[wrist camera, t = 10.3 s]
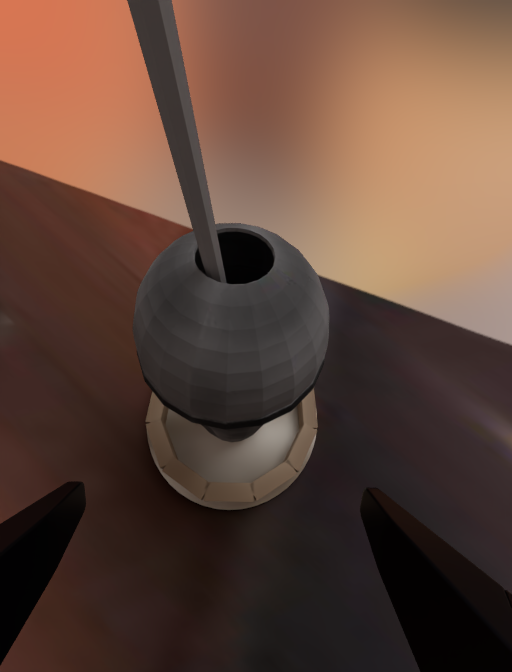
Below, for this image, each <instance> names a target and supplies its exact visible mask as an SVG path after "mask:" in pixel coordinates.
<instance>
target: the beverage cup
mask: <svg viewBox="0 0 512 672" xmlns="http://www.w3.org/2000/svg"><path fill="white" fill-rule="evenodd" d="M127 1H128V4H129V8H130V11H131V15H132V18H133V22H134V25H135V29H136V32H137V36H138V39H139V42H140V46H141V50H142V53H143V57H144V60H145V64H146V67H147V71H148V74H149V77H150V81H151V84H152V88H153V91H154V95H155V98H156V102H157V105H158V109H159V112H160V116H161V119H162V122H163V126H164V130H165V133H166V136H167V140H168V144H169V147H170V151H171V154H172V157H173V161H174V165H175V168H176V172H177V175H178V178H179V182H180V186H181V189H182V192H183V196H184V199H185V203H186V206H187V210H188V213H189V217H190V220H191V224H192V227H193V231H192V232H190V233H188V234H186V235H184V236H182V237H180V238H179V239H177V240H175V241H174V242H173V243H172V244H171V245H170V246H169V247H167V248H166V249H165V250H164V251H163V252H162V253H161V254H159V256H158V257H157V258H156V259H155V260H154V262H153V263H152V265H151V267H150V268H149V270H148V272H147V274H146V275H145V277H144V279H143V281H142V282H141V285H140V287H139V290H138V292H137V298H136V306H135V313H134V321H133V334H134V340H135V343H136V347H137V355H138V358H139V362H140V366H141V369H142V373H143V377H144V380H145V382H146V383H147V385H148V386H149V387H150V388H151V390H152V391H153V392H154V394H155V395H156V396H157V398H158V399H159V400H160V401H161V403H162V404H163V405H164V406H166V407H167V408H169V409H170V410H172V411H174V412H175V413H177V414H179V415H180V416H182V417H184V418H185V419H187V420H188V421H190V422H192V423H196V424H201V425H202V426H203V427H204V428H205V429H206V430H207V431H208V432H209V433H210V434H212V435H214V436H215V437H217V438H219V439H221V440H223V441H227V442H238V441H243V440H245V439H247V438H249V437H250V436H252V435H254V434H255V433H256V432H257V431H258V430H259V429H260V428H261V427H262V426H263V425H264V424H266V423H268V422H270V421H272V420H274V419H276V418H278V417H280V416H283V415H285V414H287V413H289V412H291V411H292V410H293V409H294V408H295V407H296V406H297V405H298V404H299V403H300V402H301V401H302V400H303V399H304V398H305V397H306V396H307V395H308V394H309V393H310V392H311V391H312V390H313V388H314V386H315V383H316V381H317V379H318V377H319V374H320V372H321V370H322V367H323V365H324V358H325V353H326V351H327V345H328V335H329V307H328V303H327V300H326V298H325V295H324V292H323V289H322V286H321V283H320V280H319V278H318V275H317V273H316V272H315V271H314V269H313V268H312V267H311V265H310V264H309V263H308V261H307V260H306V259H305V258H304V257H303V255H302V254H301V253H300V251H299V250H298V249H296V248H295V247H294V246H292V245H291V244H289V243H288V242H287V241H285V240H284V239H282V238H281V237H280V236H278V235H277V234H275V233H272V232H270V231H268V230H265V229H263V228H260V227H257V226H251V225H246V224H241V223H224V224H223V223H222V224H220V223H219V224H215V221H214V216H213V211H212V205H211V200H210V196H209V191H208V185H207V180H206V175H205V170H204V164H203V159H202V155H201V149H200V144H199V139H198V134H197V129H196V124H195V119H194V114H193V108H192V103H191V98H190V93H189V88H188V82H187V77H186V73H185V67H184V62H183V57H182V52H181V47H180V41H179V37H178V31H177V26H176V21H175V16H174V11H173V5H172V0H127Z"/></svg>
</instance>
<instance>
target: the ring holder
mask: <svg viewBox="0 0 512 672" xmlns="http://www.w3.org/2000/svg"><path fill="white" fill-rule="evenodd" d="M145 422H146V423H147V424H146V428H147V436H148V443H149V447H150V451H151V454H152V457H153V459H154V461H155V464H156V466H157V467H158V469H159V471H160V472H161V474H162V476H163V477H164V478H165V479H166V480H167V482H168V483H169V484H170V485H171V486H172V487H173V488H174V489H175V490H177V491H178V492H179V493H180V494H182V495H183V496H185V497H186V498H188V499H189V500H191V501H193V502H196V503H198V504H200V505H203V506H206V507H210V508H214V509H223V510H237V509H245V508H249V507H254V506H257V505H259V504H262V503H264V502H267V501H269V500H270V499H272V498H274V497H276V496H277V495H279V494H280V493H281V492H283V491H284V490H285V489H286V488H288V487H289V486H290V485H291V484H292V482H293V481H294V480H295V479H296V478H297V477H298V476H299V474H300V473H301V471H302V470H303V469H304V467H305V465H306V463H307V461H308V459H309V457H310V455H311V452H312V449H313V446H314V442H315V437H316V433H317V428H318V424H317V412H316V405H315V396H314V388H313V390H312V391H311V392H310V393H309V394H308V395H307V396H306V397H305V398H304V399H303V400H302V401H301V402H300V403H299V404H298V405H297V406H296V407H295V408H294V409H293V410H292V411H291V412H289V413H287V414H285V415H283V416H280V417H278V418H276V419H274V420H272V421H270V422H268V423H266V424H264V425H263V426H262V427H261V428H260V429H259V430H258V431H257V432H256V433H255V434H254V435H252V436H250V437H249V438H247V439H245V440H243V441H238V442H227V441H223V440H221V439H219V438H217V437H215V436H214V435H212V434H210V433H209V432H208V431H207V430H206V429H205V428H204V427H203V426H202V425H201V424H196V423H192V422H190V421H188V420H187V419H185V418H184V417H182V416H180V415H179V414H177V413H175V412H174V411H172V410H170V409H169V408H167V407H166V406H164V405H163V404H162V403H161V401H160V400H159V399H158V398H157V396H156V395H155V394H154V392H153V391H152V396H151V400H150V404H149V408H148V413H147V417H146V421H145Z"/></svg>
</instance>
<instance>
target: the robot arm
mask: <svg viewBox="0 0 512 672" xmlns="http://www.w3.org/2000/svg"><path fill="white" fill-rule="evenodd" d="M85 507H86V498H85V488H84V484H83V482H67V483H65V484H64V485H62V486H60V487H59V488H57V489H56V490H54V491H52V492H51V493H49V494H48V495H46V496H44V497H43V498H41V499H40V500H38V501H36V502H35V503H33V504H32V505H30V506H28V507H27V508H25V509H24V510H22V511H20V512H19V513H17V514H15V515H14V516H12V517H11V518H9V519H7V520H6V521H4V522H3V523H1V524H0V665H1V663H2V662H3V660H4V658H5V657H6V655H7V653H8V652H9V650H10V648H11V646H12V645H13V643H14V641H15V640H16V638H17V636H18V634H19V633H20V631H21V629H22V628H23V626H24V624H25V622H26V621H27V619H28V617H29V616H30V614H31V612H32V610H33V609H34V607H35V605H36V604H37V602H38V600H39V598H40V597H41V595H42V593H43V592H44V590H45V588H46V586H47V585H48V583H49V581H50V580H51V578H52V576H53V574H54V572H55V571H56V569H57V567H58V565H59V563H60V561H61V559H62V557H63V554H64V552H65V550H66V548H67V546H68V544H69V542H70V540H71V538H72V536H73V534H74V532H75V530H76V528H77V525H78V523H79V521H80V519H81V517H82V515H83V513H84V510H85ZM360 513H361V517H362V520H363V524H364V527H365V530H366V533H367V536H368V539H369V542H370V545H371V549H372V552H373V555H374V558H375V561H376V564H377V567H378V570H379V573H380V575H381V578H382V580H383V583H384V585H385V587H386V590H387V592H388V595H389V597H390V599H391V602H392V604H393V607H394V609H395V612H396V614H397V616H398V619H399V621H400V624H401V626H402V628H403V631H404V633H405V636H406V638H407V640H408V643H409V645H410V648H411V650H412V653H413V655H414V657H415V660H416V662H417V665H418V667H419V669H420V672H512V594H511V593H510V592H509V591H507V590H504V588H503V587H502V586H501V585H500V584H498V583H497V582H496V581H494V580H493V579H492V578H491V577H489V576H488V575H487V574H486V573H484V572H483V571H482V570H481V569H479V568H478V567H477V566H476V565H474V564H473V563H472V562H470V561H469V560H468V559H467V558H465V557H464V556H463V555H462V554H460V553H459V552H458V551H457V550H455V549H454V548H453V547H451V546H450V545H449V544H448V543H446V542H445V541H444V540H443V539H441V538H440V537H439V536H438V535H436V534H435V533H434V532H433V531H431V530H430V529H429V528H427V527H426V526H425V525H424V524H422V523H421V522H420V521H419V520H417V519H416V518H415V517H414V516H412V515H411V514H410V513H409V512H407V511H406V510H405V509H403V508H402V507H401V506H400V505H398V504H397V503H396V502H395V501H393V500H392V499H391V498H390V497H388V496H387V495H386V494H385V493H383V492H382V491H381V490H379V489H378V488H365V489H364V491H363V496H362V501H361V506H360Z"/></svg>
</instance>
